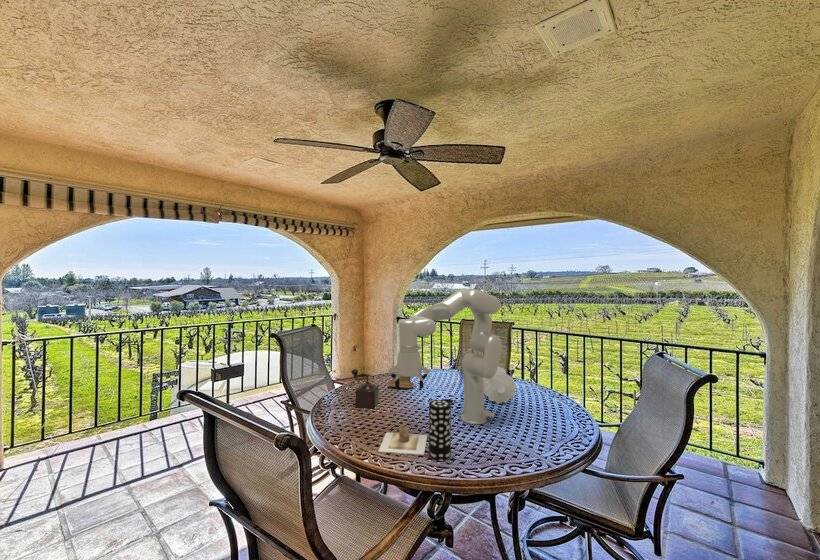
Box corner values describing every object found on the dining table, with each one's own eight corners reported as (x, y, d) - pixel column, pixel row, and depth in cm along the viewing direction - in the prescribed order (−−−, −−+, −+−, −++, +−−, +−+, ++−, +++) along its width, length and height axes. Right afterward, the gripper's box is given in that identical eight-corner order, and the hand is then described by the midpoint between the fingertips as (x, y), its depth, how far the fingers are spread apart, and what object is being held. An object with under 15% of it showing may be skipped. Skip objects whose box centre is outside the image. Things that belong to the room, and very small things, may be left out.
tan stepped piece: (415, 384, 215) (415, 361, 215) (411, 390, 204) (411, 365, 204) (392, 382, 219) (392, 359, 219) (387, 388, 208) (387, 364, 207)
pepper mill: (379, 401, 186) (379, 369, 186) (374, 409, 175) (374, 374, 175) (352, 399, 188) (352, 367, 188) (345, 407, 178) (345, 373, 177)
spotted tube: (448, 449, 135) (448, 399, 135) (452, 460, 127) (452, 407, 126) (428, 449, 135) (428, 399, 134) (429, 461, 126) (430, 407, 126)
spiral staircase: (497, 397, 204) (509, 412, 179) (471, 384, 205) (479, 397, 180) (510, 369, 205) (524, 380, 180) (484, 357, 205) (494, 366, 180)
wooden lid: (418, 437, 144) (418, 423, 144) (415, 450, 133) (415, 435, 133) (393, 435, 146) (393, 421, 146) (388, 448, 135) (388, 433, 135)
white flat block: (427, 435, 146) (427, 434, 146) (423, 455, 130) (423, 454, 130) (386, 433, 149) (386, 432, 149) (378, 452, 133) (378, 451, 133)
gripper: (429, 347, 145) (430, 386, 145) (389, 346, 147) (390, 385, 147) (428, 351, 137) (429, 393, 138) (386, 350, 139) (387, 392, 140)
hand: (409, 389), depth 142 cm, fingers open, 9 cm apart
